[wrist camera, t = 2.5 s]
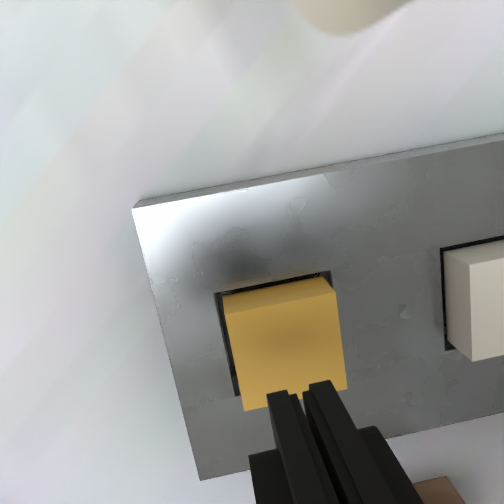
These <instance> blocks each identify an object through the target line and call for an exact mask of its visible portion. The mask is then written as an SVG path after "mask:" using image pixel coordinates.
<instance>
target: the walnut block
mask: <svg viewBox="0 0 504 504" xmlns="http://www.w3.org/2000/svg"><path fill="white" fill-rule="evenodd" d="M412 485H413V486H414V488H415V489H416V491H417V493H418V494H419V496H420V498H421V499H422V501H423V503H424V504H465V502H464V501H463V499H462V498H461V497H460V495H459V494H458V492H457V491H456V490H455V488H454V487H453V485H452V484H451V483H450V481H449V480H448V478H447V477H446V476H444V477H440V478H435V479H431V480H427V481H422V482H418V483H414V484H412Z"/></svg>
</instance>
